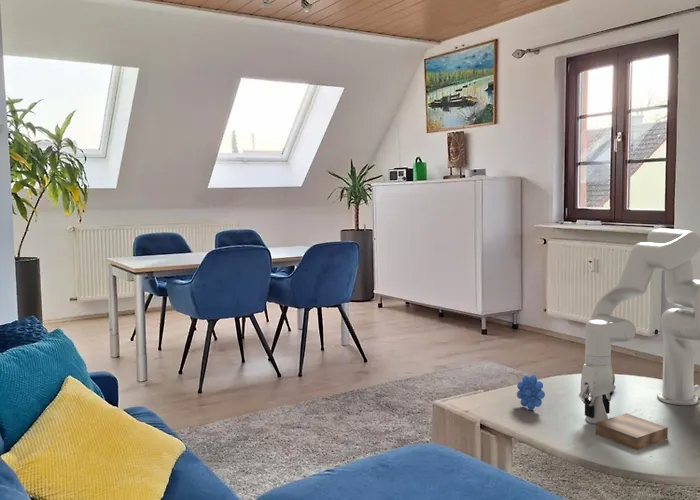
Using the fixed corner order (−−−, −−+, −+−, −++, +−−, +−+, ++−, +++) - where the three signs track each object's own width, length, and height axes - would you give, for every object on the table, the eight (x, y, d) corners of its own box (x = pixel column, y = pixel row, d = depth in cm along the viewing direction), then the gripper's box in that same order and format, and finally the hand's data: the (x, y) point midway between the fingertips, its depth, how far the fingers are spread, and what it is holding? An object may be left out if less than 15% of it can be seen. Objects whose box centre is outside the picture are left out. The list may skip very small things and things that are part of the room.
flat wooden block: (626, 425, 203) (626, 413, 203) (667, 440, 191) (667, 427, 191) (595, 435, 197) (595, 422, 196) (636, 451, 185) (636, 437, 184)
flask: (611, 425, 203) (611, 394, 202) (586, 424, 204) (587, 393, 203) (607, 417, 210) (607, 387, 209) (583, 416, 211) (583, 386, 210)
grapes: (553, 411, 216) (553, 376, 215) (538, 416, 212) (539, 380, 211) (526, 402, 226) (526, 368, 224) (512, 406, 222) (512, 371, 221)
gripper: (606, 352, 212) (605, 405, 214) (569, 361, 204) (568, 416, 206) (626, 357, 206) (625, 412, 208) (588, 366, 197) (587, 423, 199)
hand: (597, 414), depth 207 cm, fingers open, 6 cm apart
